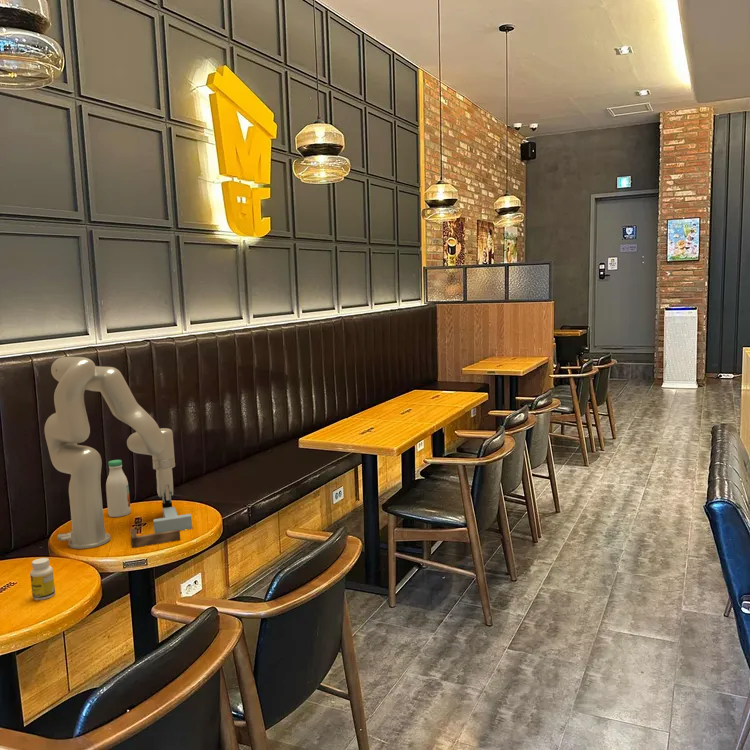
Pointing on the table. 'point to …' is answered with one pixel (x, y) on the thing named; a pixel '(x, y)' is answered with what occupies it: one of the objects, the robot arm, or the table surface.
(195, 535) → the table surface
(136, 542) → the corner fence
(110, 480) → the milk bottle
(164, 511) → the t block
